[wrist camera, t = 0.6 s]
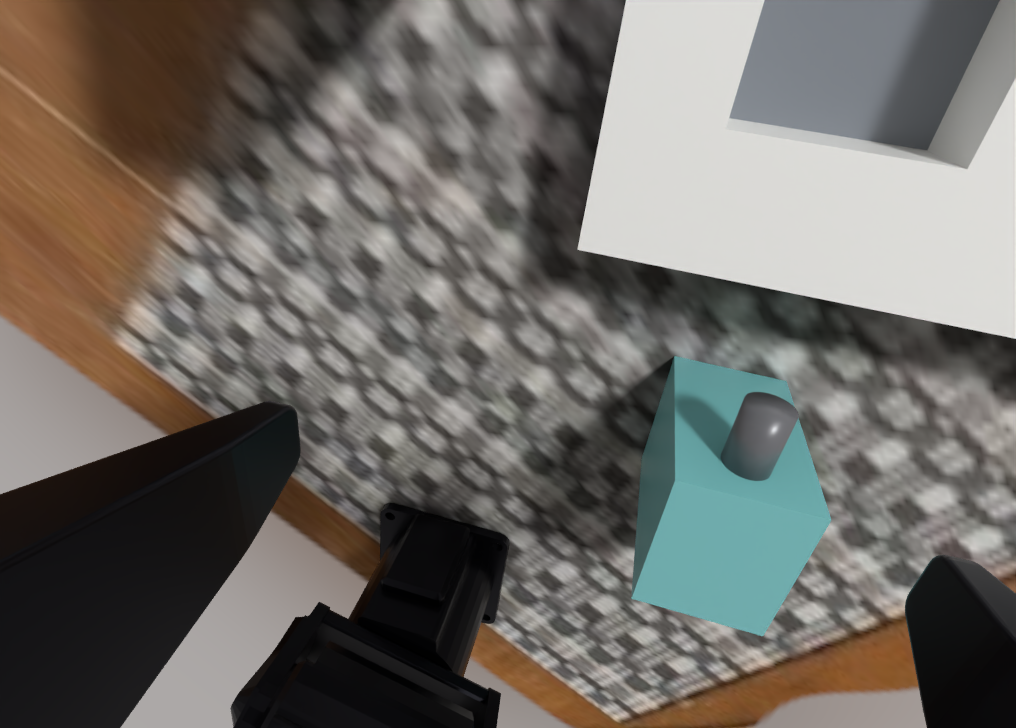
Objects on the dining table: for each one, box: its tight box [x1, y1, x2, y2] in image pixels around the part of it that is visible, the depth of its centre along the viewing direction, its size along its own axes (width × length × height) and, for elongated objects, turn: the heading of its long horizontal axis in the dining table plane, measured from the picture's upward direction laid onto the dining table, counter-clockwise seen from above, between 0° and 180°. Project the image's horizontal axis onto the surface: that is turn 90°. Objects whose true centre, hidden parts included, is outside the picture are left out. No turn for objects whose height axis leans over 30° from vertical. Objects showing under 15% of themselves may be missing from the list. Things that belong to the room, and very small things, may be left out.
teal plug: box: [632, 356, 831, 636], centre depth 19 cm, size 7×4×7 cm, turn 172°
